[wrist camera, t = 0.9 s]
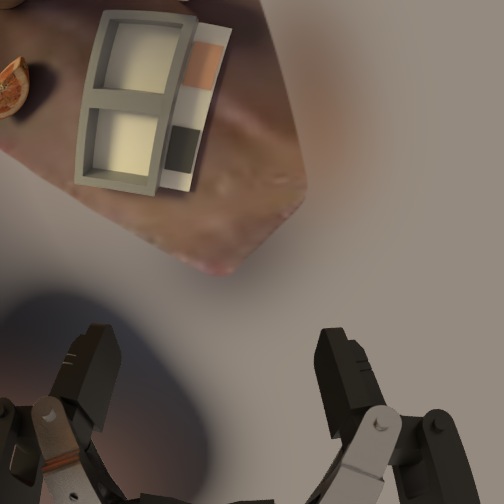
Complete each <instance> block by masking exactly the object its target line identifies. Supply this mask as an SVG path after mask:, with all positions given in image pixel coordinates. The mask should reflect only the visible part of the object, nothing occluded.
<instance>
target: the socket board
mask: <svg viewBox="0 0 504 504" xmlns="http://www.w3.org/2000/svg"><path fill="white" fill-rule="evenodd" d="M231 32H232V29H231V28H227V27H222V26H217V25H212V24H206V23H200V22H199V21H198V18H197V16H191V15H184V14H176V13H167V12H155V11H139V10H104V11H103V14H102V17H101V20H100V23H99V27H98V30H97V34H96V37H95V41H94V45H93V49H92V53H91V57H90V61H89V66H88V71H87V75H86V81H85V86H84V92H83V98H82V104H81V111H80V118H79V127H78V136H77V147H76V161H75V184H80V185H87V186H93V187H100V188H106V189H112V190H119V191H125V192H131V193H137V194H143V195H148V196H155V194H156V192H157V190H158V188H159V186H160V187H165V188H171V189H176V190H182V191H187V192H189V190H190V185H191V180H192V176H193V171H194V166H195V162H196V158H197V153H198V149H199V145H200V141H201V136H202V132H203V128H204V124H205V120H206V117H207V113H208V109H209V105H210V101H211V98H212V94H213V91H214V87H215V84H216V80H217V77H218V73H219V70H220V66H221V63H222V60H223V57H224V53H225V50H226V47H227V44H228V41H229V38H230V35H231Z"/></svg>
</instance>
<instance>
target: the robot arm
mask: <svg viewBox="0 0 504 504" xmlns="http://www.w3.org/2000/svg"><path fill="white" fill-rule="evenodd" d="M24 1H25V0H0V8H2V9H10V8H13V7H15V6H18V5H19V4H21V3H22V2H24ZM121 357H122V356H121V350H120V347H119V345H118V342H117V339H116V337H115V334H114V331H113V328H112V326H111V325H110V324H101V323H92V324H91V325H90V326H89V328H88V330H87V332H86V334H85V335H80V336H79V337H78V338H77V339H76V340H75V341H74V342H73V343H72V344H71V347H70V349H69V351H68V353H67V355H66V357H65V359H64V364H62V366H61V368H60V371H59V373H58V375H57V378H56V380H55V383H54V385H53V387H52V389H51V392H50V394H49V395H48V396H45V397H42V398H40V399H39V400H37V401H36V403H35V404H34V405H33V406H15V405H14V404H13V403H12V402H11V401H10V400H9V399H7V398H0V504H39V502H40V495H41V488H42V482H43V477H44V480H45V482H46V485H47V487H48V489H49V492H50V494H51V497H52V499H53V501H54V503H55V504H190V503H187V502H184V501H181V500H177V499H175V498H171V497H163V496H156V495H150V494H144V493H141V494H140V498H136V499H131V500H128V499H127V498H126V496H125V494H124V493H123V491H122V490H121V489H120V487H119V486H118V485H117V484H116V483H115V481H114V480H113V479H112V477H111V476H110V474H109V472H108V470H107V468H106V467H105V465H104V463H103V461H102V459H101V457H100V455H99V453H98V451H97V449H96V447H95V445H94V443H93V441H92V439H91V434H92V430H93V431H98V432H102V430H103V426H104V422H105V419H106V415H107V411H108V407H109V403H110V400H111V396H112V393H113V389H114V386H115V382H116V379H117V376H118V372H119V369H120V366H121V359H122V358H121ZM314 369H315V373H316V377H317V381H318V385H319V389H320V393H321V397H322V401H323V405H324V409H325V414H326V418H327V422H328V426H329V431H330V435H331V439H336V438H341V441H342V446H341V448H340V450H339V451H338V453H337V455H336V457H335V459H334V460H333V462H332V464H331V466H330V467H329V469H328V471H327V473H326V474H325V476H324V477H323V479H322V481H321V482H320V484H319V485H318V486H317V488H316V489H315V490H314V492H313V493H312V494H311V496H310V497H309V499H308V500H307V501H306V503H305V504H376V502H377V500H378V498H379V496H380V493H381V491H382V489H383V486H384V480H383V474H384V471H385V469H386V467H387V465H392V468H393V473H394V477H395V481H396V486H397V491H398V496H399V501H400V504H480V500H479V496H478V492H477V489H476V485H475V482H474V479H473V475H472V472H471V468H470V465H469V462H468V459H467V456H466V453H465V450H464V447H463V445H462V442H461V439H460V436H459V434H458V431H457V428H456V426H455V423H454V421H453V419H452V417H451V416H450V415H449V414H448V413H447V412H446V411H444V410H440V409H434V410H431V411H429V412H428V413H427V414H426V415H425V416H424V417H413V416H402V415H399V414H398V413H397V412H396V411H395V410H394V409H393V408H391V407H388V406H387V405H386V403H385V401H384V398H383V395H382V394H381V390H380V388H379V385H378V383H377V380H376V378H375V375H374V373H373V371H372V368H371V365H370V363H369V362H368V358H367V356H366V354H365V351H364V349H363V348H362V347H361V346H360V345H359V344H358V343H357V342H356V341H355V340H348V339H347V337H346V334H345V332H344V330H343V328H341V327H340V328H324V329H322V330H321V333H320V336H319V340H318V344H317V347H316V350H315V354H314ZM15 445H16V449H15V453H14V457H13V461H12V465H11V470H10V469H9V467H10V462H11V458H12V454H13V450H14V446H15ZM230 504H274V500H273V499H272V500H257V501H238V502H234V503H230Z"/></svg>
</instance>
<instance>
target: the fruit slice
mask: <svg viewBox="0 0 504 504" xmlns="http://www.w3.org/2000/svg"><path fill="white" fill-rule="evenodd" d="M29 87H30V81H29V71H28V66H27V63H26V62H25V59H24V58H23V57H19V58H17V59H16V60H14V61H13V62H12V63H11V64H9V65H8V66H7V67H6V68H5V69H4V70H3V71H2V73H1V74H0V119H4V118H7V117H9V116H11V115H13V114H14V113H15V112H17V111H18V110H19V109H20V108H21V107H22V105H23V104H24V102H25V100H26V98H27V96H28V92H29Z"/></svg>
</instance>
